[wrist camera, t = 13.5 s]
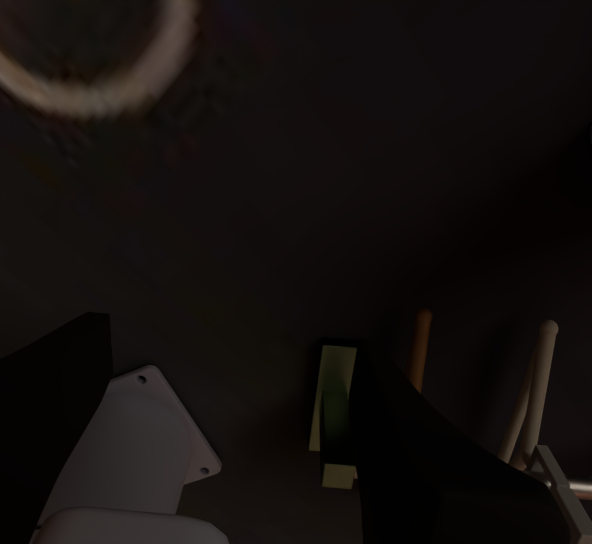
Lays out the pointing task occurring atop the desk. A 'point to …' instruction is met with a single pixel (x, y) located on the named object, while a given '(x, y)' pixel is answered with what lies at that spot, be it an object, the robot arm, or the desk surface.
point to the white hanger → (584, 534)
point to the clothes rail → (335, 421)
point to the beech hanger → (418, 348)
